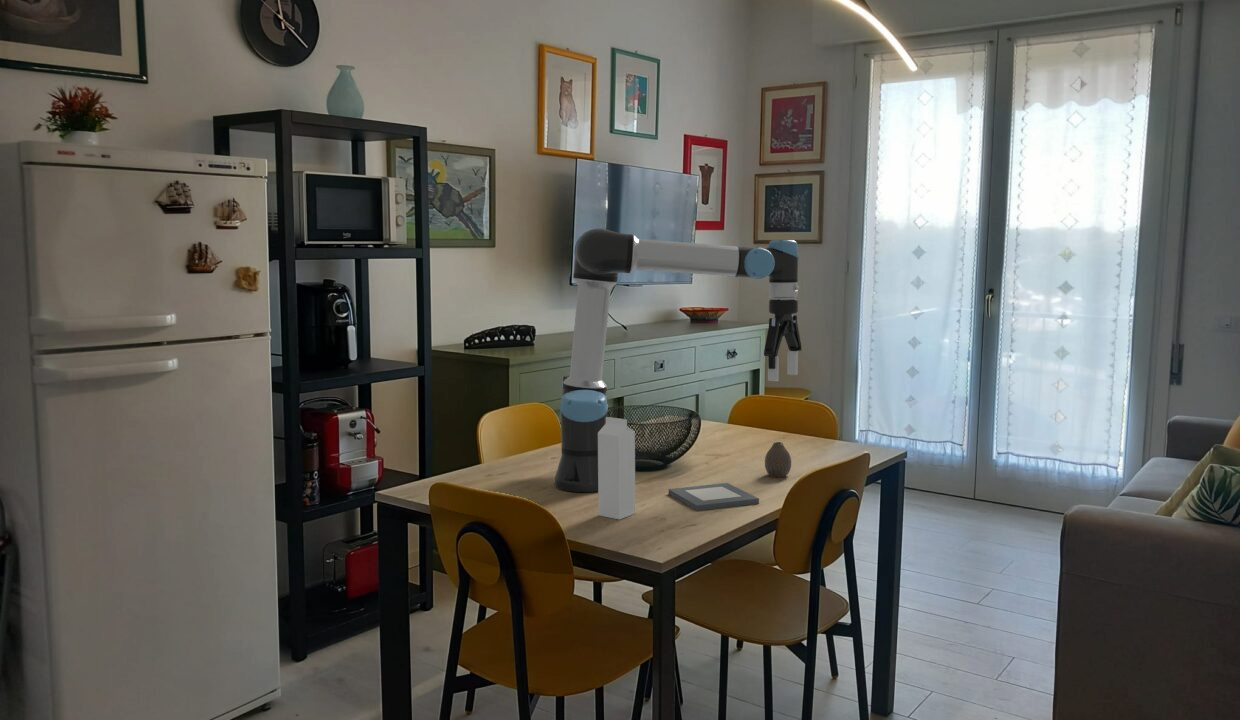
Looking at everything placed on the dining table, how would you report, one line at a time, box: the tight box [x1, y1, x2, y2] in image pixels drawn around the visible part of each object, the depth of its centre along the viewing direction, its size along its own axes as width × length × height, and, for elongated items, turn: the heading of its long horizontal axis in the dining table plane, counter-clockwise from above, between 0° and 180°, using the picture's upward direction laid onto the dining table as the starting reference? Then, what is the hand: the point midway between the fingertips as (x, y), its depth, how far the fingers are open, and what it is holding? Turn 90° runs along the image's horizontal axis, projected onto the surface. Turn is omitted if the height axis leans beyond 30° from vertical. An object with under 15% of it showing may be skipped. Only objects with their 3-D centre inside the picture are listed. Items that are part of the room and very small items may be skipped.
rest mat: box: [668, 482, 760, 512], centre depth 225 cm, size 16×16×1 cm
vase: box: [764, 441, 792, 478], centre depth 246 cm, size 7×7×9 cm
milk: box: [597, 416, 636, 521], centre depth 211 cm, size 6×6×22 cm
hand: (783, 377), depth 252 cm, fingers open, 13 cm apart
